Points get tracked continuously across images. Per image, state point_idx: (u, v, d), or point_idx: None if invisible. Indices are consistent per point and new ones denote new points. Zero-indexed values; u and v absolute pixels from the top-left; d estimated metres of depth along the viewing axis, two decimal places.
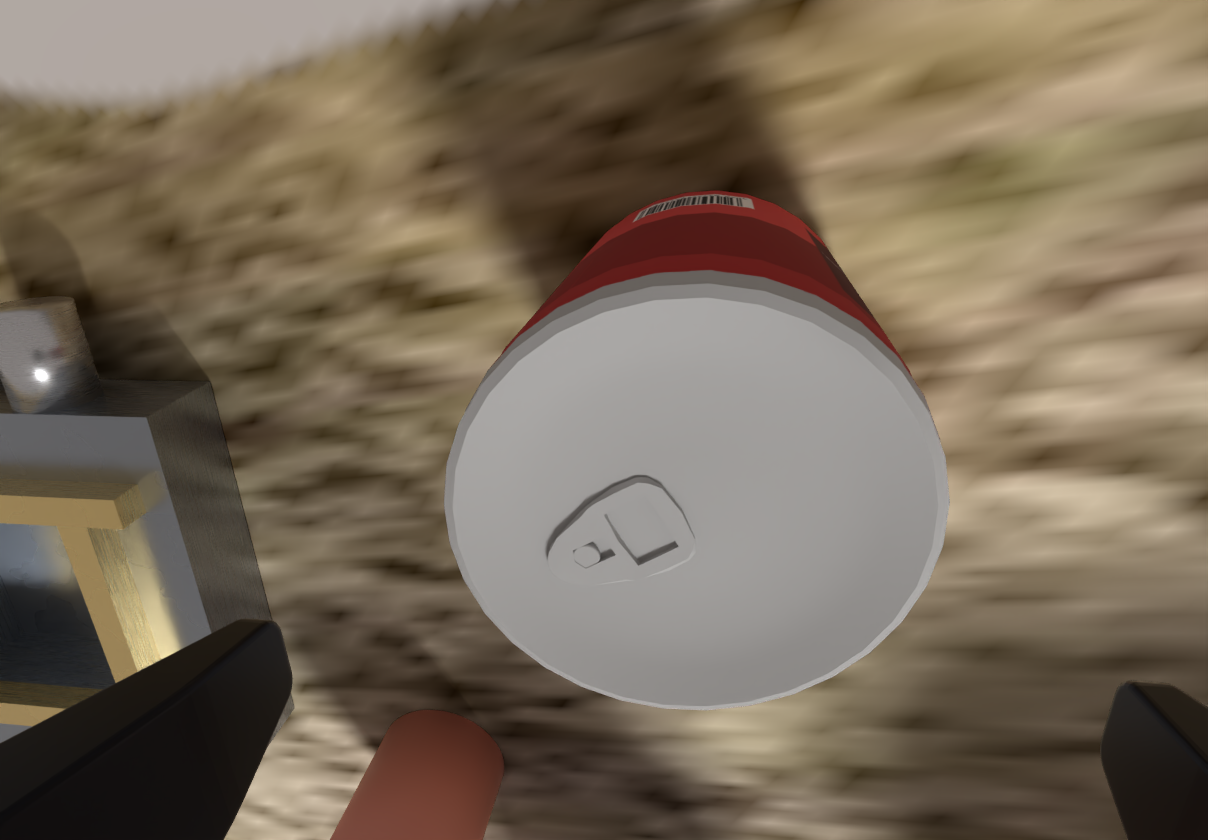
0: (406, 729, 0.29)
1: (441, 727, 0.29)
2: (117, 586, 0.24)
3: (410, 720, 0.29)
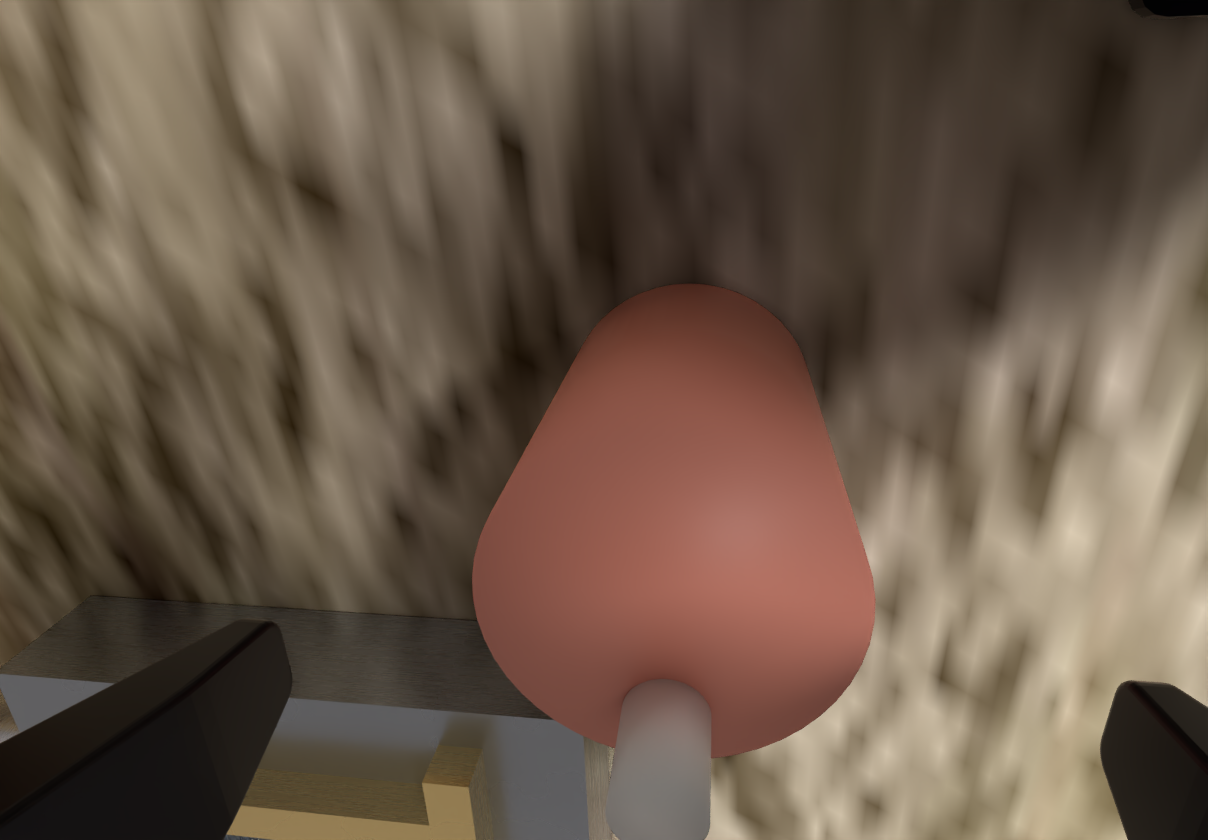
0: None
1: None
2: None
3: None
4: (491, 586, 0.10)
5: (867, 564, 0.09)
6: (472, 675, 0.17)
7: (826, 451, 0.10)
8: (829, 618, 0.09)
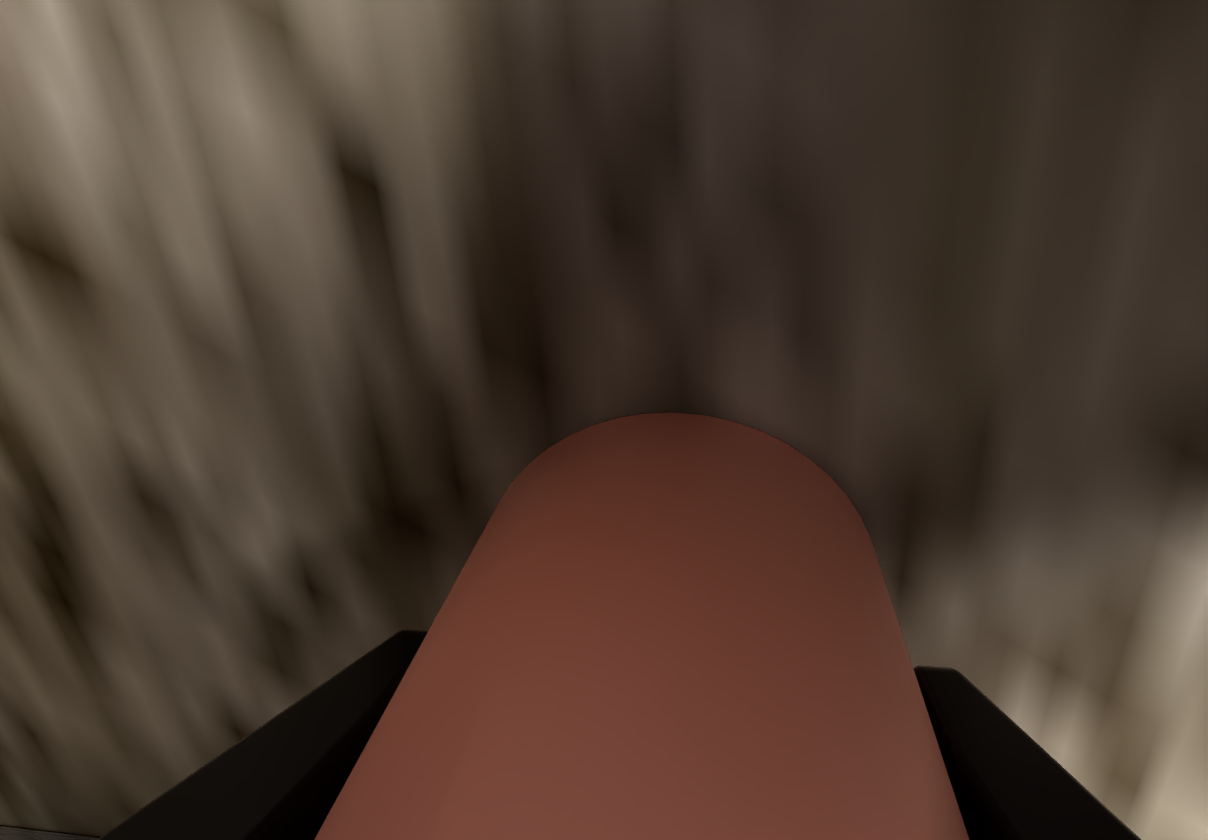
0: None
1: None
2: None
3: None
4: None
5: None
6: None
7: None
8: None
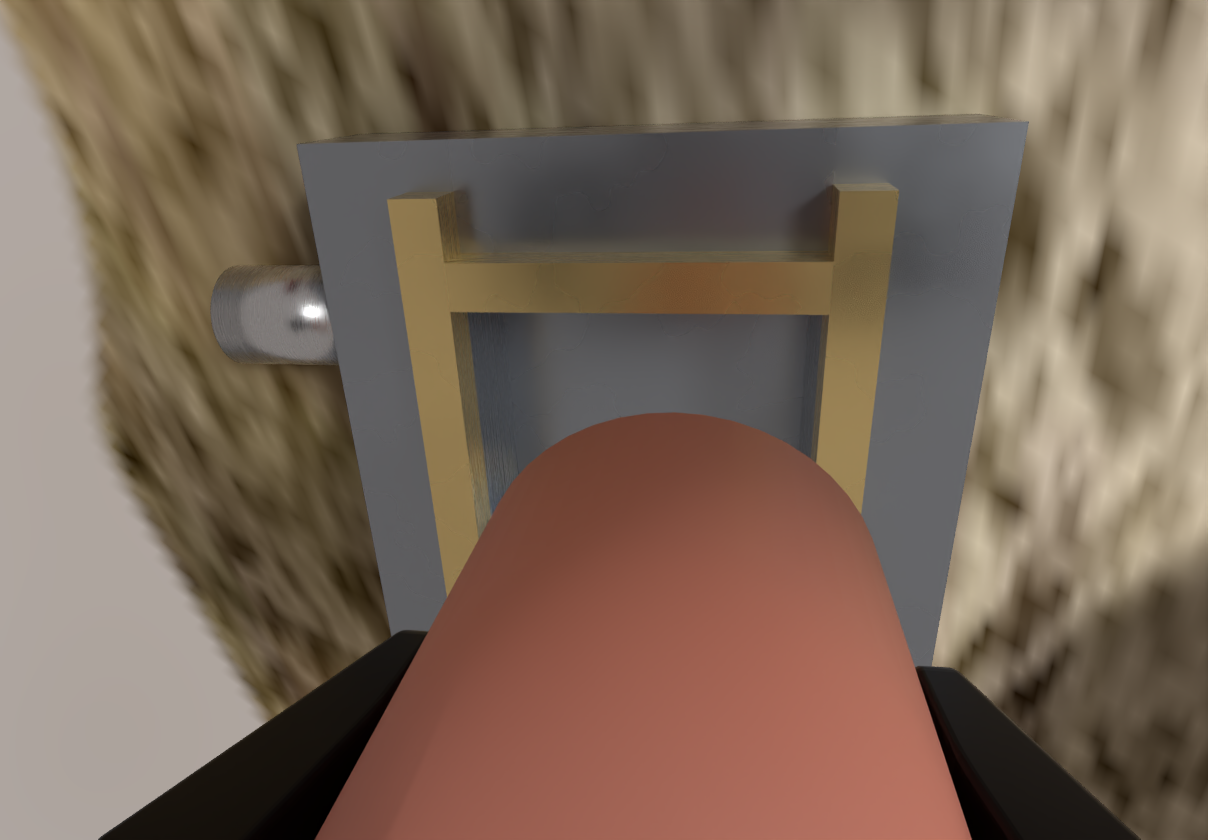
0: None
1: None
2: (564, 258, 0.15)
3: None
4: None
5: None
6: (859, 122, 0.15)
7: None
8: None
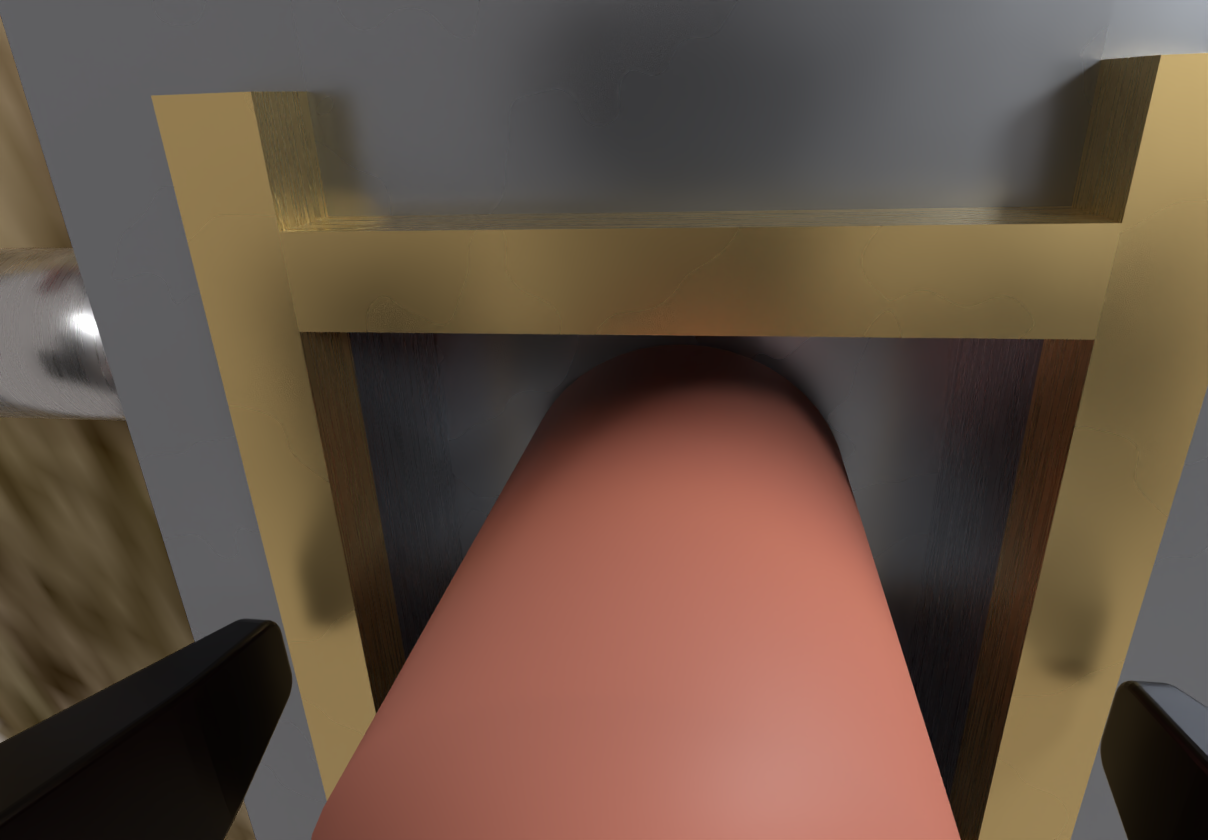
0: None
1: None
2: (527, 223, 0.07)
3: None
4: None
5: None
6: None
7: (894, 665, 0.06)
8: None
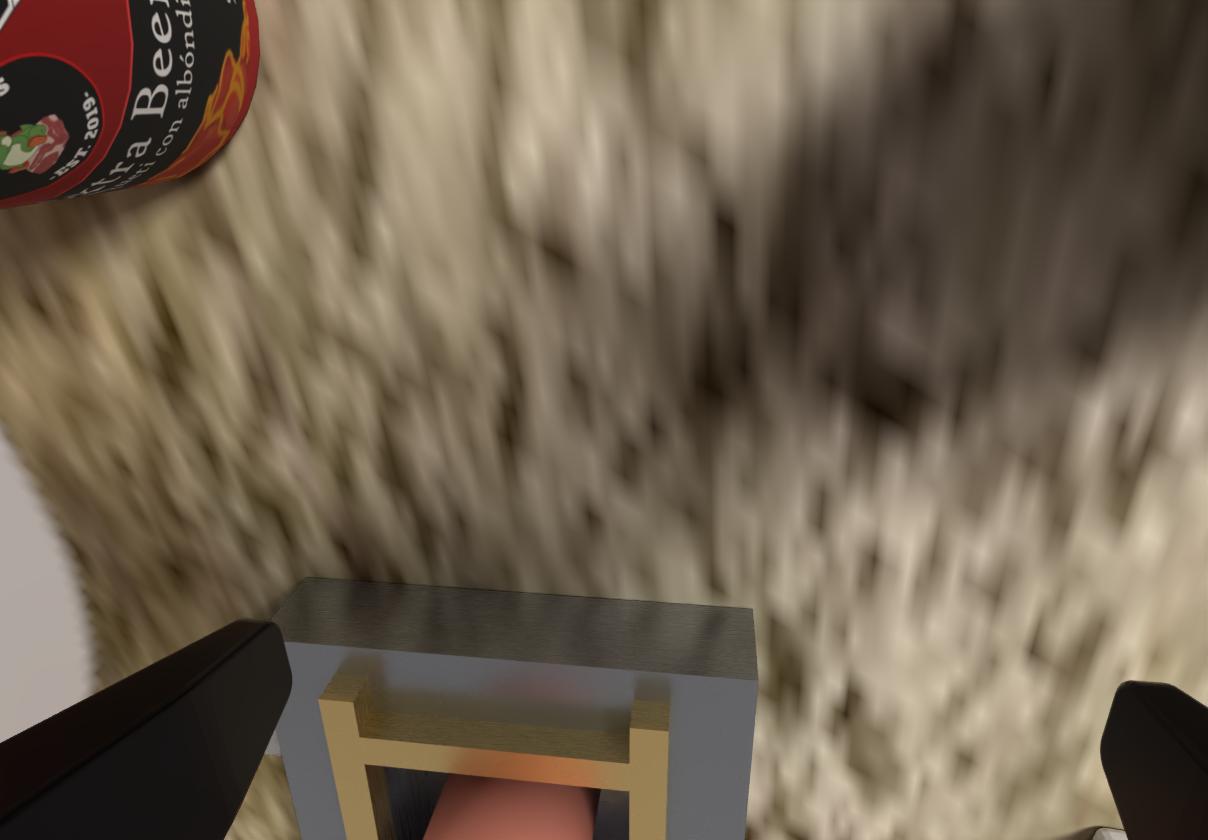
0: None
1: None
2: (446, 735, 0.21)
3: None
4: None
5: None
6: (656, 644, 0.21)
7: None
8: None
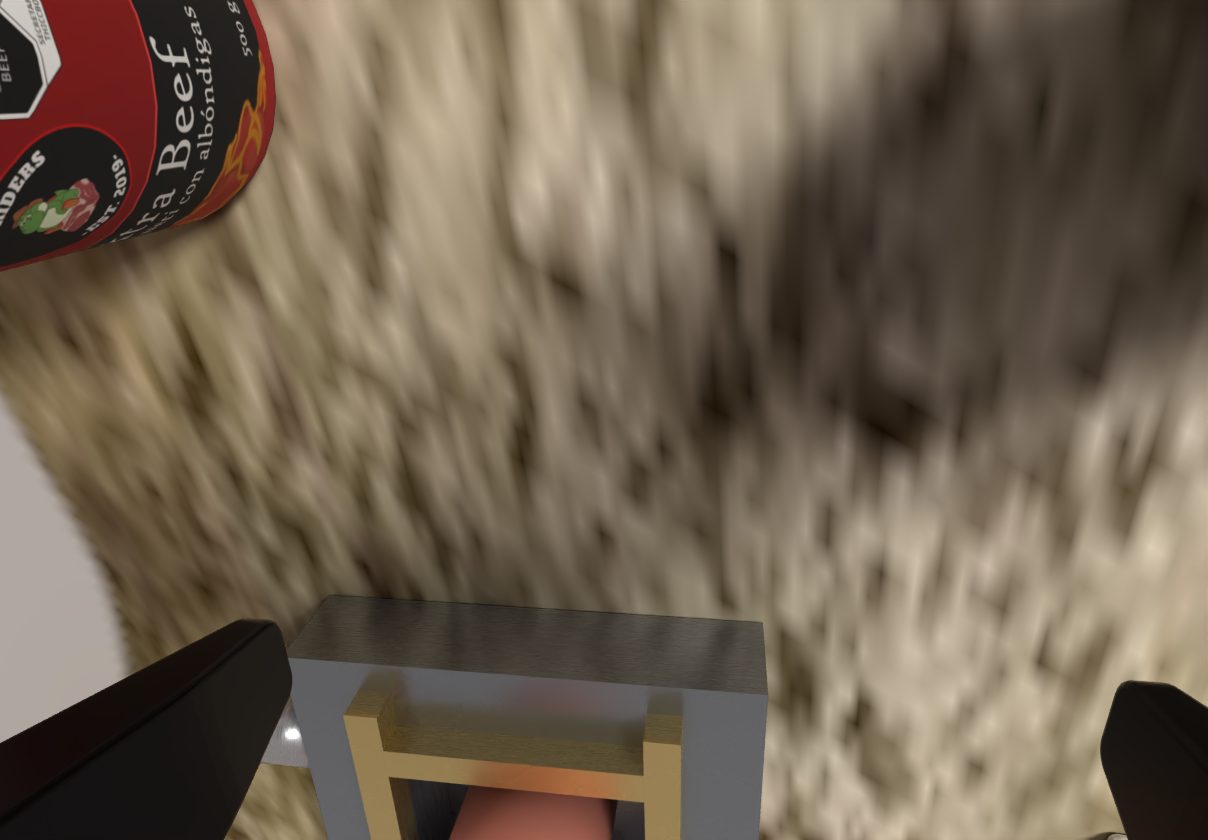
0: None
1: None
2: (466, 749, 0.22)
3: None
4: None
5: None
6: (668, 659, 0.21)
7: None
8: None
